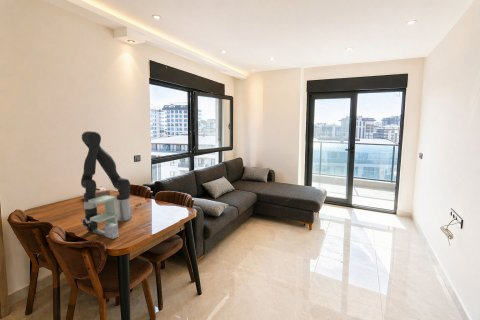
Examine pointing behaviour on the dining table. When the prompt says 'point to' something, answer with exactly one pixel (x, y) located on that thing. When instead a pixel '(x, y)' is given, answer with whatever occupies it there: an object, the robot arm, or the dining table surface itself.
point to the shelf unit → (106, 209)
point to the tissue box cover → (101, 191)
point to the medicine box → (111, 230)
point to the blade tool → (94, 228)
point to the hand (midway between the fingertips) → (92, 229)
